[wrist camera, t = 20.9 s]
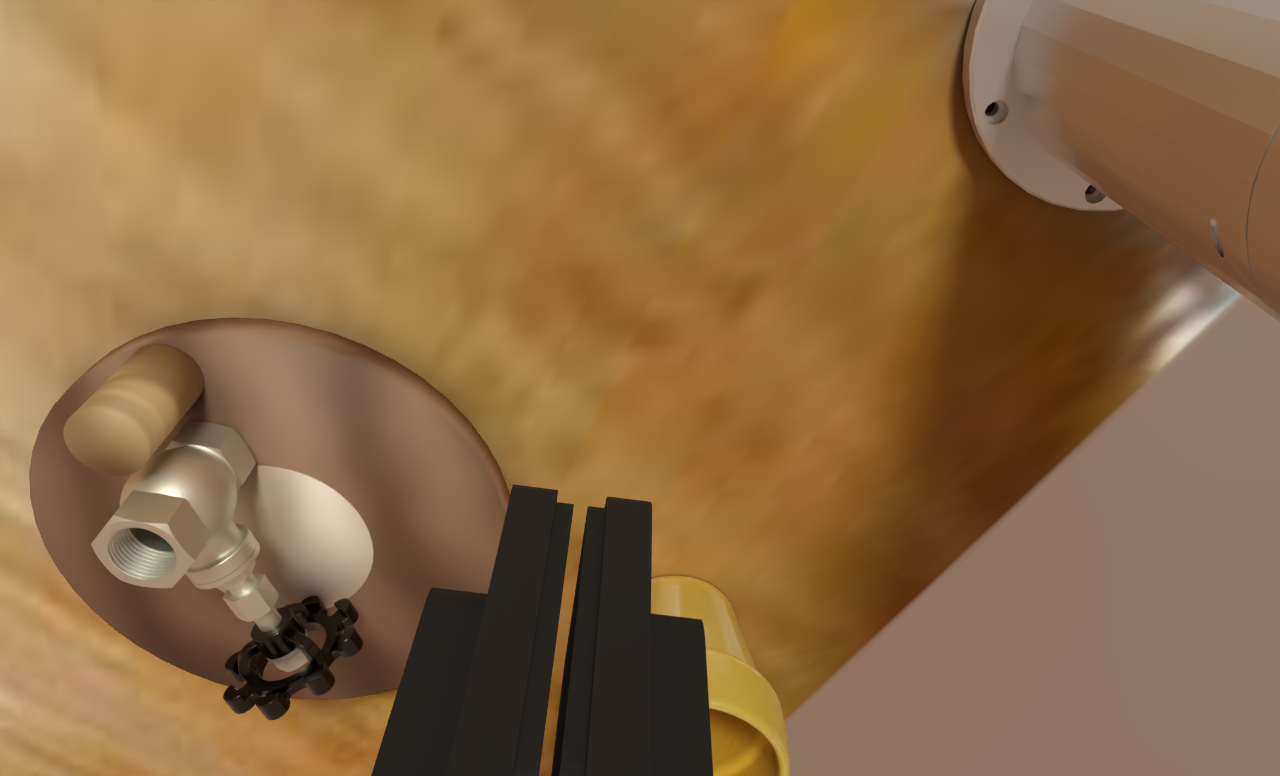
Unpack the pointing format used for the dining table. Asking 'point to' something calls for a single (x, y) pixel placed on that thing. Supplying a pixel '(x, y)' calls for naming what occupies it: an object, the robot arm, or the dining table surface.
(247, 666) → the valve
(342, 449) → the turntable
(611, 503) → the robot arm
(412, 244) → the dining table surface
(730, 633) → the plant pot
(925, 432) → the dining table surface
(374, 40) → the dining table surface
